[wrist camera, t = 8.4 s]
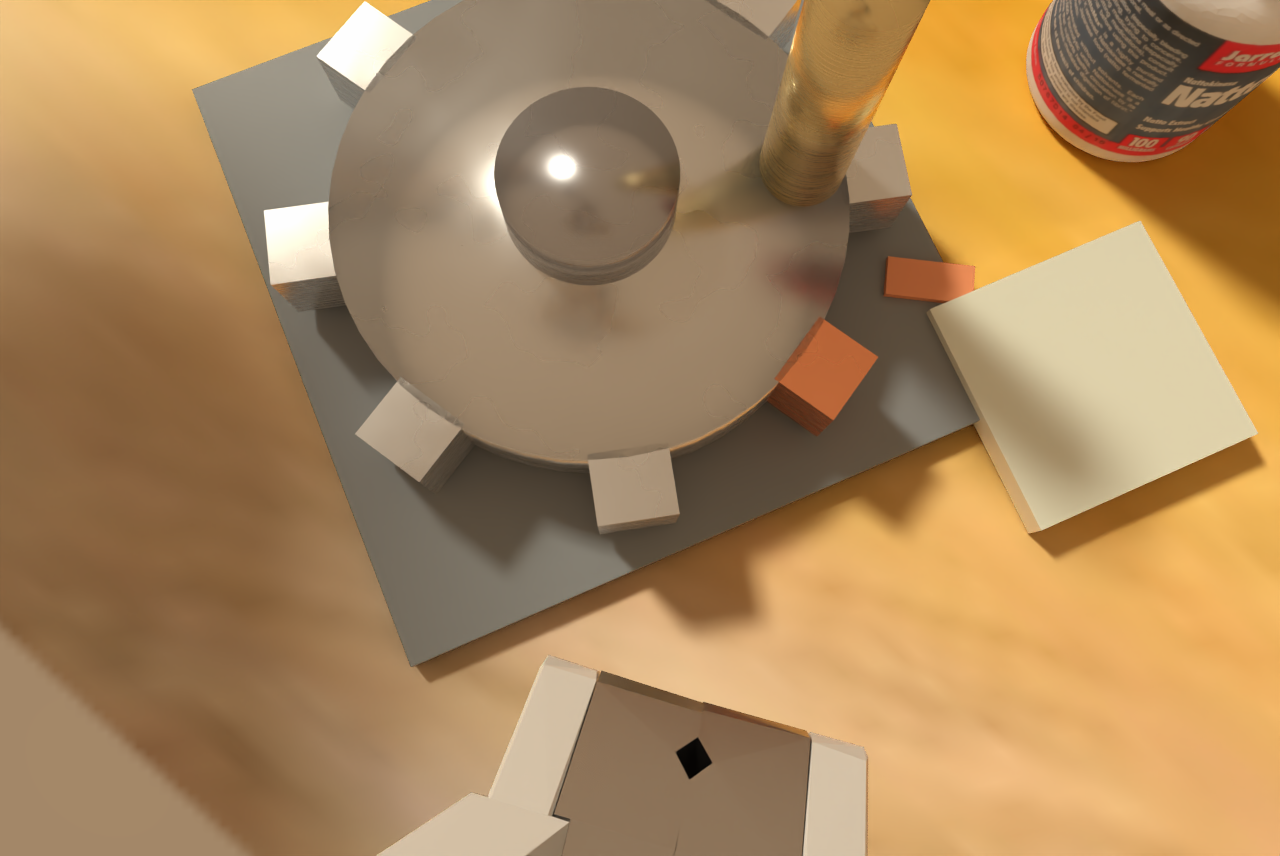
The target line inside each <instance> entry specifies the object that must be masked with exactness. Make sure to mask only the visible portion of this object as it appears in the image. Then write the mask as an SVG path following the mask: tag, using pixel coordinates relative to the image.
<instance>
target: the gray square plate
mask: <svg viewBox="0 0 1280 856" xmlns="http://www.w3.org/2000/svg"><path fill="white" fill-rule="evenodd" d="M461 1H463V0H431V1H428V2H425V3H423V4H420V5H417V6H415V7H412V8H409V9H407V10H404V11H401V12H399V13H396V14H393V15H390V16H388V18H390V19H391V20H393V21H394V22H395V23H397V24H398V25H400V26H401V27H403V28H404V29H406V30H407V31H408V32H410V33H411V34H414V33H416V32H417V31H418V30H419V29H421V28H422V27H423V26H425V25H426V24H427V23H428V22H430V21H431V20H432V19H433V18H435V17H436V16H438V15H440V14H441V13H443V12H445V11H446V10H448V9H450V8H451V7H453V6H454V5H456V4H458V3H459V2H461ZM803 3H804V0H801V4H800V7H799V11H798V14H797V18H796V21H795V25H794V29H793V32H792V36H791V39H790V41H789V42H788V43H787V45H786V46H785V47H784V48H783V51H784V52H785V53H786V54H787V55H789V52H790V48H791V45H792V41H793V38H794V34H795V31H796V27H797V24H798V20H799V17H800V13H801V10H802V6H803ZM332 38H333V37H331V38H329V39H326V40H323V41H321V42H318V43H315V44H313V45H310V46H307V47H305V48H302V49H299V50H297V51H294V52H291V53H289V54H286V55H283V56H280V57H278V58H275V59H272V60H270V61H267V62H264V63H262V64H259V65H256V66H254V67H251V68H248V69H246V70H243V71H240V72H238V73H235V74H232V75H230V76H227V77H224V78H221V79H219V80H216V81H213V82H211V83H208V84H205V85H203V86H200V87H197V88H195V89H192V90H193V93H194V96H195V98H196V101H197V104H198V106H199V109H200V112H201V114H202V117H203V120H204V122H205V125H206V127H207V130H208V133H209V135H210V138H211V141H212V143H213V146H214V149H215V151H216V154H217V156H218V159H219V162H220V164H221V167H222V170H223V172H224V175H225V178H226V180H227V183H228V186H229V188H230V191H231V193H232V196H233V199H234V201H235V204H236V207H237V209H238V212H239V215H240V217H241V220H242V222H243V225H244V228H245V230H246V233H247V236H248V238H249V241H250V244H251V246H252V249H253V252H254V254H255V257H256V259H257V262H258V265H259V267H260V270H261V273H262V275H263V278H264V281H265V283H266V286H267V288H268V291H269V294H270V296H271V299H272V302H273V304H274V307H275V310H276V312H277V315H278V318H279V320H280V323H281V325H282V328H283V331H284V333H285V336H286V339H287V341H288V344H289V347H290V349H291V352H292V354H293V357H294V360H295V362H296V365H297V368H298V370H299V373H300V376H301V378H302V381H303V384H304V386H305V389H306V391H307V394H308V397H309V399H310V402H311V405H312V407H313V410H314V413H315V415H316V418H317V421H318V423H319V426H320V428H321V431H322V434H323V436H324V439H325V442H326V444H327V447H328V450H329V452H330V455H331V457H332V460H333V463H334V465H335V468H336V471H337V473H338V476H339V479H340V481H341V484H342V487H343V489H344V492H345V494H346V497H347V500H348V502H349V505H350V508H351V510H352V513H353V516H354V518H355V521H356V523H357V526H358V529H359V531H360V534H361V537H362V539H363V542H364V545H365V547H366V550H367V553H368V555H369V558H370V560H371V563H372V566H373V568H374V571H375V574H376V576H377V579H378V582H379V584H380V587H381V589H382V592H383V595H384V597H385V600H386V603H387V605H388V608H389V611H390V613H391V616H392V619H393V621H394V624H395V626H396V629H397V632H398V634H399V637H400V640H401V642H402V645H403V648H404V650H405V653H406V655H407V658H408V661H409V663H410V666H411V667H413V666H417V665H419V664H421V663H424V662H426V661H428V660H431V659H433V658H435V657H437V656H440V655H442V654H444V653H447V652H449V651H451V650H454V649H456V648H458V647H461V646H463V645H465V644H467V643H470V642H472V641H474V640H477V639H479V638H481V637H484V636H486V635H488V634H490V633H493V632H495V631H497V630H500V629H502V628H504V627H507V626H509V625H511V624H514V623H516V622H518V621H520V620H523V619H525V618H527V617H530V616H532V615H534V614H537V613H539V612H541V611H544V610H546V609H548V608H550V607H553V606H555V605H557V604H560V603H562V602H564V601H567V600H569V599H571V598H573V597H576V596H578V595H580V594H583V593H585V592H587V591H590V590H592V589H594V588H597V587H599V586H601V585H603V584H606V583H608V582H610V581H613V580H615V579H617V578H620V577H622V576H624V575H626V574H629V573H631V572H633V571H636V570H638V569H640V568H643V567H645V566H647V565H650V564H652V563H654V562H656V561H659V560H661V559H663V558H666V557H668V556H670V555H673V554H675V553H677V552H679V551H682V550H684V549H686V548H689V547H691V546H693V545H696V544H698V543H700V542H703V541H705V540H707V539H709V538H712V537H714V536H716V535H719V534H721V533H723V532H726V531H728V530H730V529H733V528H735V527H737V526H739V525H742V524H744V523H746V522H749V521H751V520H753V519H756V518H758V517H760V516H762V515H765V514H767V513H769V512H772V511H774V510H776V509H779V508H781V507H783V506H786V505H788V504H790V503H792V502H795V501H797V500H799V499H802V498H804V497H806V496H809V495H811V494H813V493H815V492H818V491H820V490H822V489H825V488H827V487H829V486H832V485H834V484H836V483H839V482H841V481H843V480H845V479H848V478H850V477H852V476H855V475H857V474H859V473H862V472H864V471H866V470H869V469H871V468H873V467H875V466H878V465H880V464H882V463H885V462H887V461H889V460H892V459H894V458H896V457H898V456H901V455H903V454H905V453H908V452H910V451H912V450H915V449H917V448H919V447H922V446H924V445H926V444H928V443H931V442H933V441H935V440H938V439H940V438H942V437H945V436H947V435H949V434H951V433H954V432H956V431H958V430H961V429H963V428H965V427H968V426H970V425H972V424H974V423H976V422H978V421H979V420H980V419H979V417H978V415H977V413H976V411H975V409H974V407H973V405H972V403H971V401H970V399H969V397H968V395H967V393H966V391H965V389H964V387H963V385H962V383H961V381H960V379H959V377H958V375H957V373H956V371H955V369H954V367H953V365H952V363H951V361H950V359H949V357H948V355H947V353H946V351H945V349H944V347H943V345H942V343H941V341H940V339H939V337H938V335H937V333H936V331H935V329H934V327H933V325H932V323H931V321H930V319H929V317H928V315H927V312H928V311H929V310H930V309H932V308H934V307H936V306H939V305H941V304H943V303H946V302H948V301H951V300H953V299H955V298H958V297H960V296H962V295H965V294H967V293H970V292H972V291H974V276H975V266H969V265H960V264H951V263H943V261H942V259H941V257H940V255H939V253H938V251H937V249H936V247H935V245H934V243H933V241H932V239H931V237H930V235H929V233H928V231H927V229H926V227H925V225H924V223H923V222H922V220H921V218H920V216H919V214H918V212H917V210H916V208H915V206H914V204H913V202H912V200H911V198H910V199H909V200H908V202H907V203H906V205H905V206H904V208H903V209H902V211H901V212H900V214H899V215H898V217H897V218H896V220H895V221H894V223H893V224H892V226H891V227H890V228H887V229H880V230H873V231H866V232H859V233H852V234H849V237H848V244H847V251H846V257H845V264H844V267H843V270H842V274H841V277H840V281H839V284H838V288H837V291H836V294H835V297H834V299H833V301H832V303H831V305H830V308H829V310H828V312H827V314H826V317H825V319H824V320H826V321H827V322H829V323H830V324H831V325H833V326H834V327H836V328H837V329H839V330H840V331H842V332H843V333H844V334H846V335H847V336H849V337H850V338H852V339H853V340H855V341H856V342H857V343H859V344H860V345H862V346H863V347H865V348H866V349H868V350H869V351H870V352H872V353H873V354H875V355H876V356H878V358H877V360H876V361H875V363H874V364H873V365H872V367H871V368H870V370H869V371H868V372H867V374H866V375H865V377H864V378H863V380H862V381H861V382H860V384H859V385H858V387H857V388H856V389H855V391H854V392H853V394H852V395H851V396H850V398H849V399H848V401H847V402H846V403H845V405H844V406H843V408H842V409H841V411H840V412H839V413H838V415H837V416H836V418H835V419H834V420H833V421H832V422H831V423H830V424H829V425H828V426H827V427H826V428H825V429H824V430H823V431H822V432H821V433H820V434H819V435H818V436H817V437H816V436H815V435H813V434H812V433H811V432H809V431H808V430H806V429H805V428H804V427H802V426H801V425H799V424H798V423H796V422H795V421H794V420H792V419H791V418H789V417H788V416H787V415H785V414H784V413H782V412H781V411H780V410H778V409H777V408H775V407H774V406H772V405H771V404H770V403H768V402H767V401H766V402H765V403H764V404H763V405H762V406H761V407H760V408H759V409H758V410H757V411H755V412H754V413H753V414H752V415H751V416H750V417H749V418H748V419H747V420H745V421H744V422H742V423H741V424H740V425H738V426H737V427H735V428H734V429H732V430H731V431H729V432H728V433H727V434H725V435H724V436H722V437H721V438H719V439H717V440H715V441H713V442H711V443H709V444H707V445H705V446H703V447H702V448H700V449H698V450H696V451H694V452H692V453H689V454H686V455H683V456H681V457H678V458H675V459H672V460H671V463H672V469H673V475H674V481H675V487H676V494H677V500H678V506H679V512H680V514H679V517H678V519H677V521H676V523H672V524H666V525H659V526H653V527H646V528H639V529H633V530H626V531H620V532H613V533H607V534H600V533H599V529H598V525H597V519H596V512H595V505H594V498H593V491H592V484H591V477H590V473H578V472H561V471H556V470H550V469H544V468H539V467H533V466H529V465H526V464H523V463H519V462H516V461H513V460H510V459H507V458H503V457H500V456H498V455H496V454H494V453H492V452H489V451H487V450H485V449H483V448H481V447H479V446H477V445H474V446H473V447H472V449H471V450H470V451H469V453H468V454H467V455H466V456H465V458H464V459H463V460H462V462H461V463H460V464H459V465H458V467H457V468H456V469H455V470H454V472H453V473H452V474H451V476H450V477H449V478H448V479H447V481H446V482H445V483H444V485H443V486H442V487H441V488H440V490H439V491H438V492H437V494H436V493H434V492H433V491H431V490H430V489H428V488H427V487H425V486H424V485H422V484H421V483H420V482H418V481H417V480H416V479H414V478H413V477H412V476H410V475H409V474H408V473H406V472H405V471H404V470H402V469H401V468H400V467H398V466H397V465H396V464H394V463H393V462H392V461H390V460H389V459H388V458H386V457H385V456H384V455H382V454H381V453H380V452H378V451H377V450H376V449H374V448H373V447H372V446H370V445H369V444H368V443H366V442H365V441H364V440H362V439H361V438H360V437H358V436H357V435H356V434H355V433H356V432H357V431H358V430H359V428H360V427H361V426H362V425H363V423H364V422H365V421H366V420H367V418H368V417H369V416H370V415H371V413H372V412H373V411H374V410H375V408H376V407H377V406H378V405H379V403H380V402H381V401H382V400H383V398H384V397H385V396H386V395H387V394H388V392H389V391H390V390H391V389H392V387H393V386H394V385H395V384H396V382H397V381H396V379H395V378H394V377H393V376H392V375H391V374H390V373H389V372H388V370H387V369H386V368H385V367H384V366H383V365H382V364H381V363H380V362H379V360H378V359H377V358H376V356H375V355H374V353H373V352H372V350H371V349H370V347H369V346H368V344H367V343H366V341H365V340H364V338H363V337H362V335H361V334H360V332H359V330H358V328H357V326H356V324H355V322H354V320H353V318H352V316H351V314H350V312H349V310H348V308H347V306H346V305H343V306H336V307H329V308H322V309H315V310H308V311H301V312H299V311H297V310H296V309H295V308H294V307H293V306H292V305H291V304H290V303H289V302H288V301H287V300H286V299H285V298H284V297H283V296H282V295H281V294H280V293H279V292H278V291H277V290H275V289H274V288H273V287H272V286H271V284H270V273H269V262H268V250H267V239H266V228H265V217H264V210H272V209H279V208H286V207H294V206H301V205H308V204H315V203H323V202H329V194H330V185H331V176H332V171H333V167H334V163H335V159H336V155H337V151H338V147H339V144H340V141H341V139H342V136H343V134H344V131H345V129H346V126H347V124H348V121H349V119H350V116H351V114H352V112H353V110H354V109H353V108H351V107H350V106H349V105H347V104H346V103H344V102H343V101H341V100H340V99H339V97H338V95H337V93H336V91H335V90H334V88H333V86H332V84H331V82H330V80H329V79H328V77H327V75H326V73H325V71H324V69H323V68H322V66H321V64H320V62H319V60H318V58H317V57H316V56H317V55H318V54H319V53H320V51H321V50H322V49H323V48H324V47H325V46H326V45H327V43H328V42H329V41H330V40H331V39H332ZM869 127H874V126H873V124H872V122H871V123H870V125H869ZM869 127H868V128H869Z"/></svg>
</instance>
